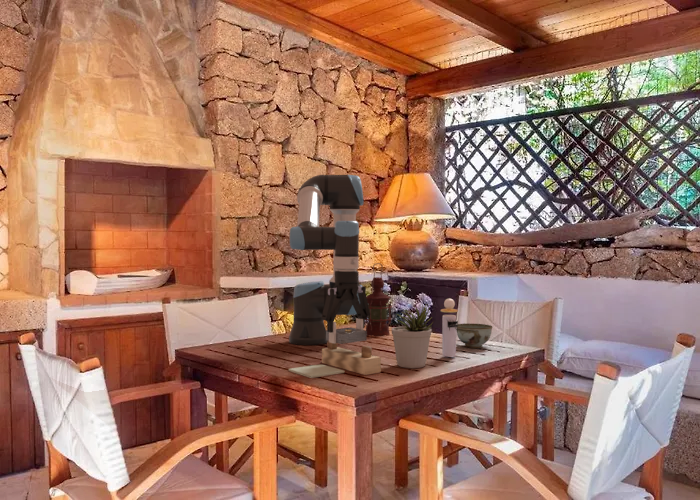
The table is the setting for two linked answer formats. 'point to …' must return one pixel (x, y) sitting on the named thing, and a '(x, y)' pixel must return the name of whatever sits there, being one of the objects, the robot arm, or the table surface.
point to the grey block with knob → (349, 335)
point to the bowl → (474, 334)
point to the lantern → (378, 309)
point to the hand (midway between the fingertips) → (346, 340)
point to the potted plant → (412, 340)
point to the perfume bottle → (449, 329)
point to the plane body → (351, 359)
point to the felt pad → (316, 370)
